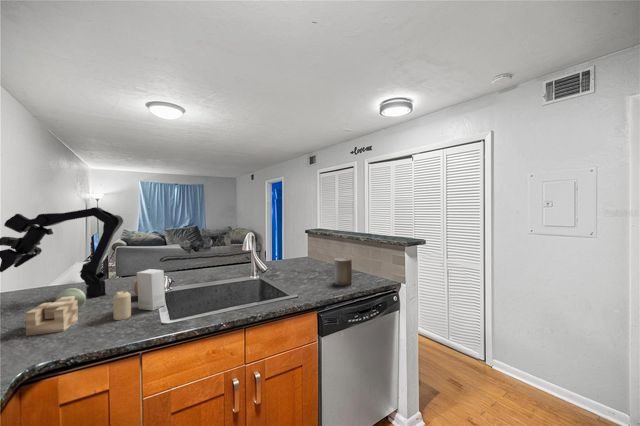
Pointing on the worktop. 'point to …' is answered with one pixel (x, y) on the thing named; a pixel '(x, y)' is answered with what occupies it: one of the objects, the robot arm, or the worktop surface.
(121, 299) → the candle
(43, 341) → the worktop surface
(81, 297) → the plunger
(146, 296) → the skincare box
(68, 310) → the block
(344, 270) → the pillar candle
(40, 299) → the worktop surface
